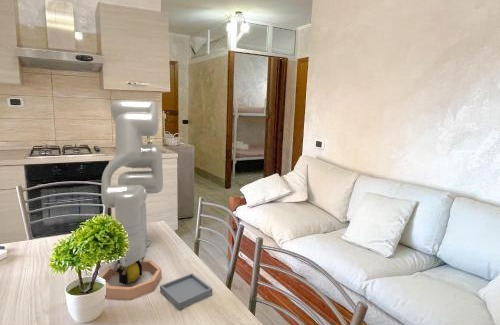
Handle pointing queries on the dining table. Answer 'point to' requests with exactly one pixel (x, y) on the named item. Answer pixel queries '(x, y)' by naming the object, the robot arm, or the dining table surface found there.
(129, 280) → the lemon
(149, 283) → the collar
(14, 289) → the dining table surface
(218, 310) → the dining table surface
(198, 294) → the tray
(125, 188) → the robot arm
